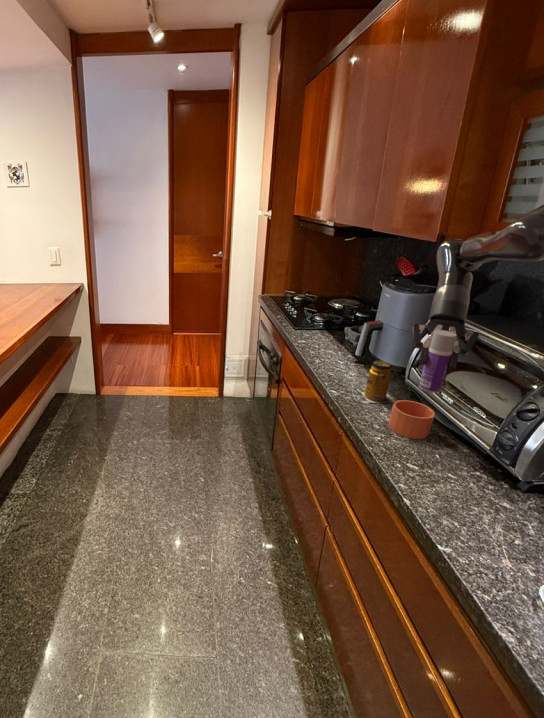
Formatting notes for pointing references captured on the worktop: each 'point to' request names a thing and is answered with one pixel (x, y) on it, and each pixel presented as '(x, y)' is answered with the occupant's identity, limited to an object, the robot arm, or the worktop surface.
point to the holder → (411, 419)
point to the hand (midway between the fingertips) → (436, 365)
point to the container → (437, 361)
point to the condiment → (378, 383)
